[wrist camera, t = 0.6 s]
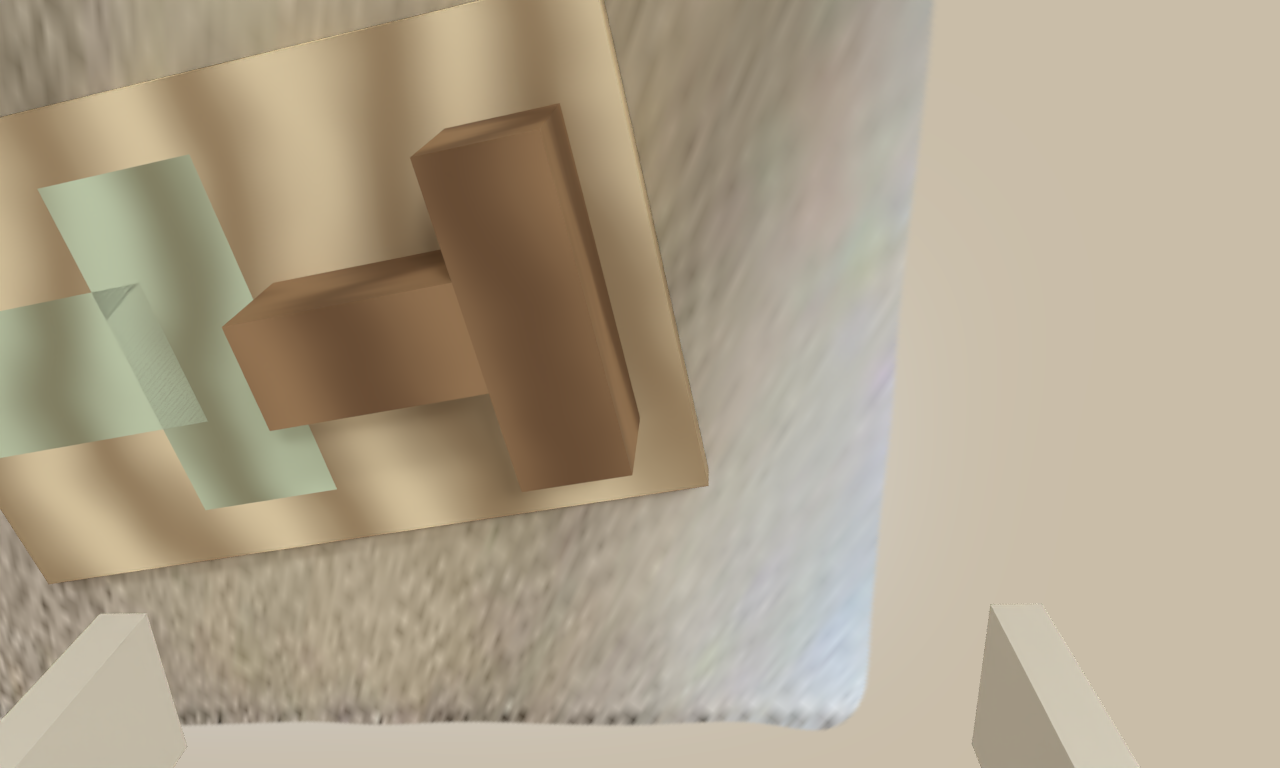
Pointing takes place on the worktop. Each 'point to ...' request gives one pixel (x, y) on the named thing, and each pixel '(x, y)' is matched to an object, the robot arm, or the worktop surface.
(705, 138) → the worktop surface
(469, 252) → the t block
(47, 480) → the board
